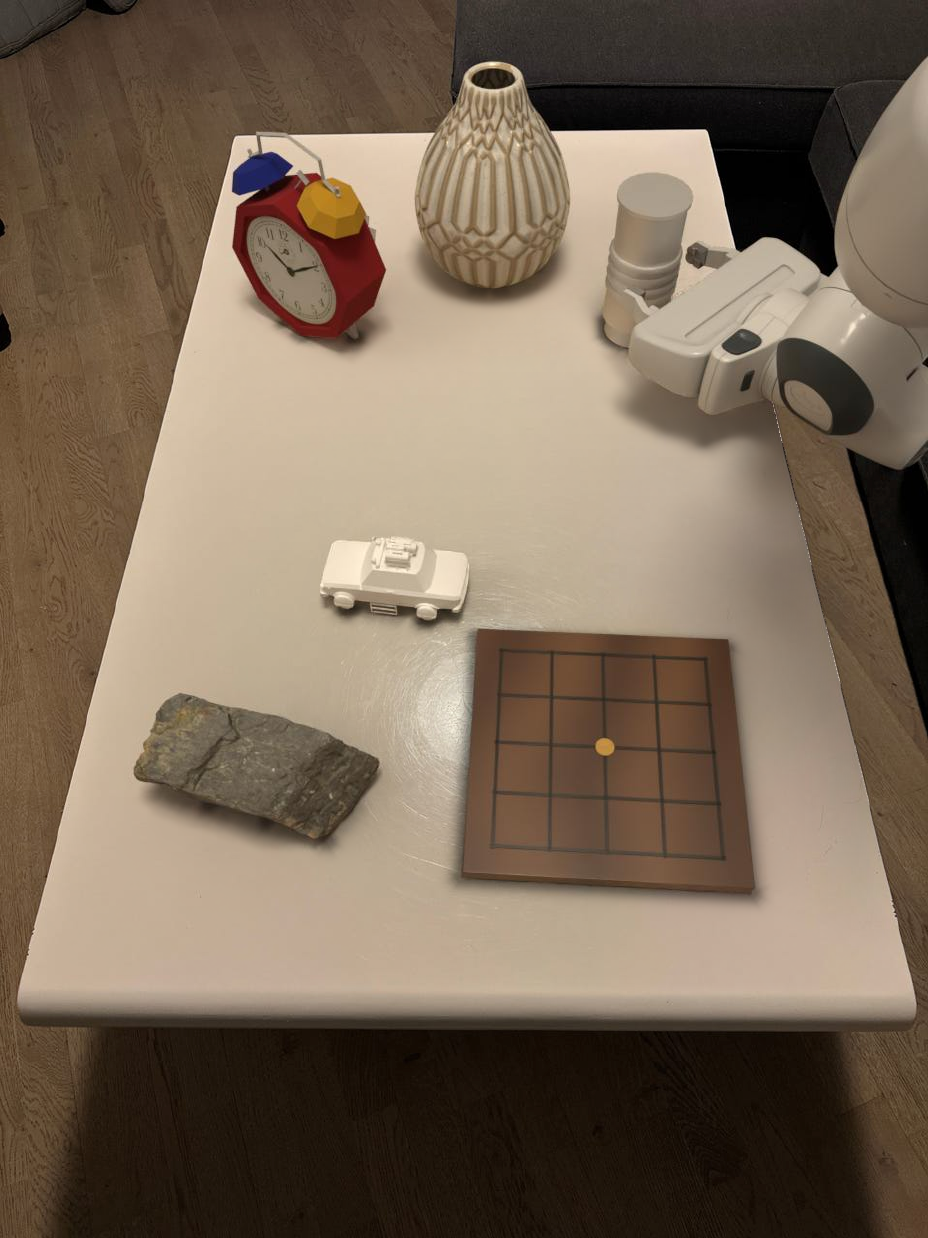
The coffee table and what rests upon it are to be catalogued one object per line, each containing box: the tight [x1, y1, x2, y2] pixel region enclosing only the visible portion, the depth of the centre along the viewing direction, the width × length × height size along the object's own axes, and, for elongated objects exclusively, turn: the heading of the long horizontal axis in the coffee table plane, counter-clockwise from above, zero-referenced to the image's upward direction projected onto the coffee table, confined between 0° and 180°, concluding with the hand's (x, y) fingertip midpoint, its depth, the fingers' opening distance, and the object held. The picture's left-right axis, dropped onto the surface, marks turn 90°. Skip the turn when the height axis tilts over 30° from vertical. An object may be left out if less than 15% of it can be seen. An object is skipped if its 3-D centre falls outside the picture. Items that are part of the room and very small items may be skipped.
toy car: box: [319, 535, 470, 621], centre depth 76 cm, size 6×12×7 cm, turn 81°
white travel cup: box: [601, 172, 694, 349], centre depth 90 cm, size 7×7×15 cm
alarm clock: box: [231, 131, 387, 340], centre depth 90 cm, size 15×9×20 cm, turn 54°
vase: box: [414, 61, 571, 289], centre depth 94 cm, size 16×16×20 cm
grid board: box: [461, 628, 756, 894], centre depth 70 cm, size 20×20×1 cm
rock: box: [133, 692, 380, 839], centre depth 68 cm, size 17×7×10 cm
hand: (658, 271), depth 89 cm, fingers open, 8 cm apart
